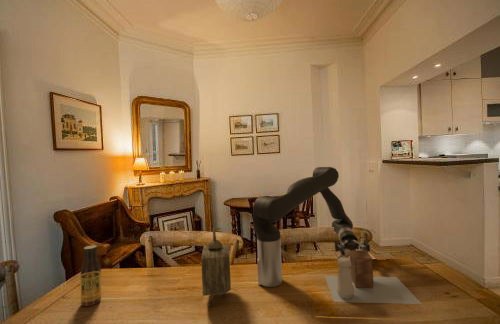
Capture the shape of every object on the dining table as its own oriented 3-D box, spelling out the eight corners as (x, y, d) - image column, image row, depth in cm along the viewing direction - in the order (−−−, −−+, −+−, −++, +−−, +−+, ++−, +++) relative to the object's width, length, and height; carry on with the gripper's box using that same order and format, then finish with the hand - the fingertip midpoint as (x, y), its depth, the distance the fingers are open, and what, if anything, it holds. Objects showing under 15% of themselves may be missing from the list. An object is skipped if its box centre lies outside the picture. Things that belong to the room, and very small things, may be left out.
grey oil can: (207, 288, 97) (204, 223, 96) (230, 286, 98) (227, 221, 97) (203, 311, 83) (199, 234, 82) (231, 308, 83) (228, 232, 83)
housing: (355, 287, 92) (354, 257, 91) (350, 278, 99) (349, 250, 98) (373, 288, 91) (372, 257, 91) (366, 278, 98) (365, 250, 98)
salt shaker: (351, 291, 89) (350, 255, 89) (357, 301, 84) (355, 262, 83) (334, 291, 90) (333, 255, 90) (338, 300, 84) (337, 262, 84)
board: (334, 302, 84) (334, 301, 84) (324, 276, 102) (324, 275, 102) (421, 305, 81) (421, 303, 81) (396, 277, 98) (396, 276, 98)
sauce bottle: (79, 309, 86) (76, 251, 86) (82, 300, 92) (78, 246, 91) (102, 303, 89) (98, 247, 89) (103, 295, 95) (100, 242, 94)
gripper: (331, 230, 121) (336, 245, 106) (363, 229, 119) (372, 244, 103) (332, 245, 122) (337, 262, 106) (364, 245, 119) (373, 262, 103)
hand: (354, 253), depth 105 cm, fingers open, 8 cm apart
